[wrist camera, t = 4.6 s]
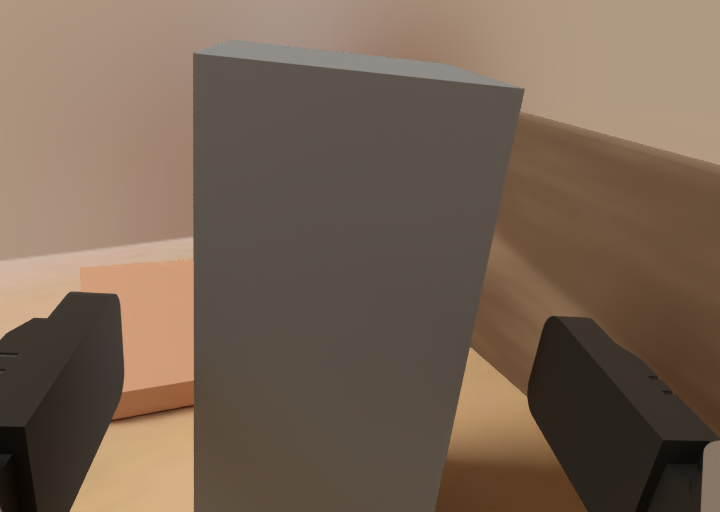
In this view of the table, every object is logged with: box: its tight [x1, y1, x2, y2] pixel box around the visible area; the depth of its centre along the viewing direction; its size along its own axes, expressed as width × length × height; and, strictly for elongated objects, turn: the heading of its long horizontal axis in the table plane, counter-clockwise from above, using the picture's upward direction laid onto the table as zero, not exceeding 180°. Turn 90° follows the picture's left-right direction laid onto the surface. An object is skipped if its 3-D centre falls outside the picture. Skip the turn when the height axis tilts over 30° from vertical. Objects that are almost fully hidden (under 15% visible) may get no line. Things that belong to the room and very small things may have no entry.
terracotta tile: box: [80, 259, 194, 420], centre depth 24 cm, size 10×10×1 cm
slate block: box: [193, 40, 524, 512], centre depth 13 cm, size 5×5×12 cm
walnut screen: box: [470, 112, 720, 438], centre depth 21 cm, size 2×16×10 cm, turn 25°
